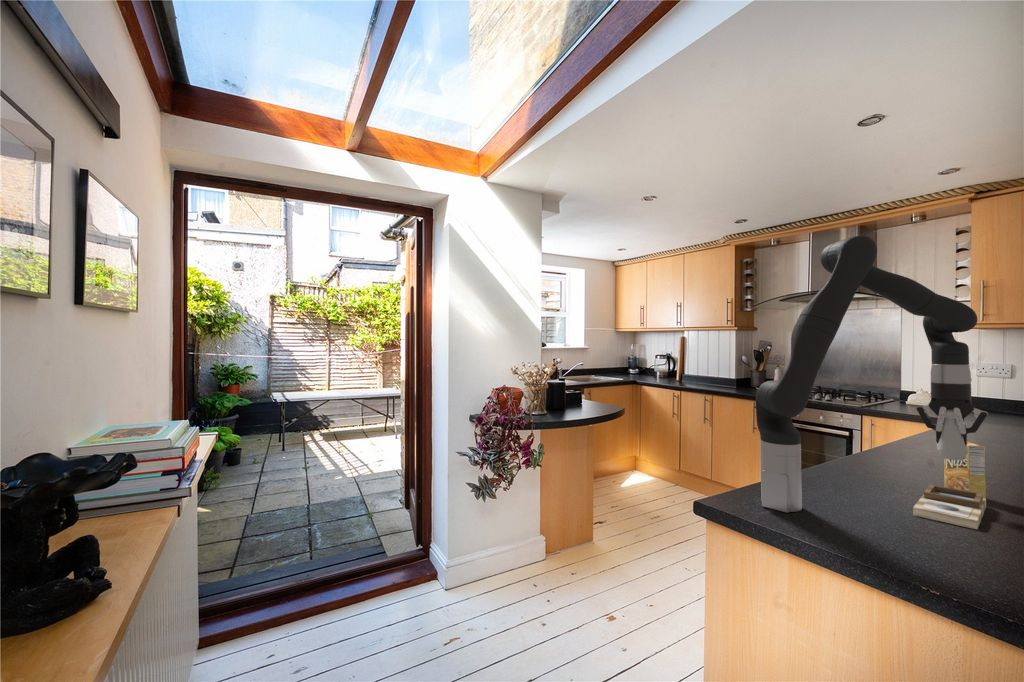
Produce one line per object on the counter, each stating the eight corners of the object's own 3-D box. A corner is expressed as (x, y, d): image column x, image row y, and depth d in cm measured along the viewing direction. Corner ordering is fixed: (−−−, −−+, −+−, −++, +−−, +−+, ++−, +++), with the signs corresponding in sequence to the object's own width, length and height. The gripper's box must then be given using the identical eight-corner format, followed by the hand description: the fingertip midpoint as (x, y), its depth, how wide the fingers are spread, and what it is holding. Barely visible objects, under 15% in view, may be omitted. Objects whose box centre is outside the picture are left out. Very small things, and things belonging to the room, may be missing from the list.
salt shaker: (974, 461, 111) (973, 411, 111) (948, 460, 112) (947, 410, 112) (956, 456, 117) (955, 407, 117) (931, 455, 118) (930, 407, 118)
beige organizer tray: (977, 529, 100) (977, 514, 100) (913, 515, 108) (912, 501, 108) (986, 506, 114) (985, 493, 114) (928, 495, 122) (928, 483, 122)
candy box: (943, 490, 126) (942, 438, 126) (960, 491, 125) (959, 438, 126) (969, 501, 118) (968, 445, 118) (987, 502, 117) (986, 445, 117)
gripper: (911, 380, 118) (913, 444, 117) (988, 383, 107) (989, 454, 107) (917, 379, 122) (918, 440, 122) (990, 382, 111) (992, 449, 111)
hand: (951, 446), depth 114 cm, fingers closed on salt shaker, 3 cm apart
